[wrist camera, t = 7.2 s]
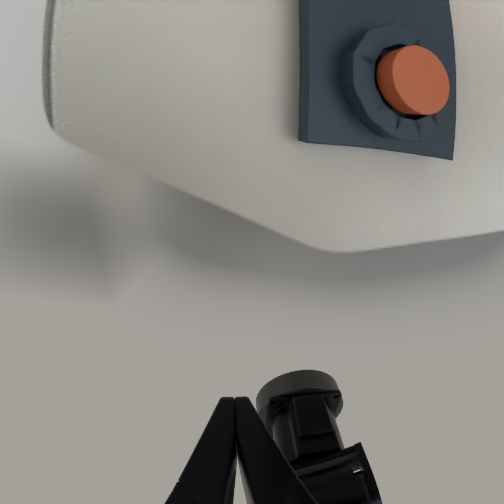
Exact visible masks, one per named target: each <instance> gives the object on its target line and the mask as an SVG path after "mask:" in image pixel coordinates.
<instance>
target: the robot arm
mask: <svg viewBox="0 0 504 504" xmlns="http://www.w3.org/2000/svg"><path fill="white" fill-rule="evenodd" d="M341 396H342V395H341V392H340V390H330V391H323V392H314V393H305V394H294V395H282V396H272V397H270V398H269V399H268V405H267V417H266V426H265V424H264V423H263V421H262V420H261V418H260V416H259V415H258V413H257V411H256V410H255V408H254V406H253V405H252V403H251V401H250V399H249V398H248V397H235V402H234V398H233V397H222V398H220V400H219V402H218V404H217V406H216V408H215V410H214V412H213V414H212V416H211V418H210V420H209V422H208V424H207V426H206V428H205V430H204V432H203V434H202V436H201V438H200V440H199V441H198V444H197V446H196V447H195V449H194V451H193V453H192V455H191V457H190V459H189V461H188V463H187V465H186V466H185V468H184V470H183V472H182V474H181V476H180V478H179V482H177V483H176V485H175V487H174V489H173V491H172V492H171V494H170V495H169V497H168V499H167V501H166V502H165V504H233V498H234V488H235V477H236V476H235V475H236V466H237V456H238V463H239V468H240V473H241V477H242V483H243V487H244V492H245V496H246V501H247V504H382V501H381V497H380V494H379V490H378V487H377V484H376V481H375V478H374V475H373V473H372V470H371V468H370V465H369V462H368V460H367V457H366V455H365V452H364V450H363V447H362V444H361V442H359V443H357V444H354V446H351V447H348V448H345V449H344V446H343V442H342V439H341V436H340V433H339V429H338V426H337V423H336V420H335V417H334V416H335V414H336V411H337V408H338V405H339V402H340V399H341ZM273 438H274V439H273ZM236 442H237V443H236ZM359 469H360V470H361V471H358V472H356V473H353V471H356V470H359Z"/></svg>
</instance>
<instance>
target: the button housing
mask: <svg viewBox="0 0 504 504" xmlns="http://www.w3.org/2000/svg"><path fill="white" fill-rule="evenodd" d="M299 25H300V89H299V136H298V140H299V141H302V142H306V143H315V144H330V145H343V146H354V147H364V148H373V149H382V150H390V151H397V152H404V153H411V154H418V155H424V156H430V157H436V158H441V159H447V160H453V152H454V140H455V123H456V65H455V49H454V37H453V28H452V20H451V12H450V6H449V0H299ZM409 45H417V46H421V47H424V48H426V49H428V50H429V51H431V52H432V53H433V54H434V55H436V56H437V58H438V59H439V60H440V61H441V63H442V64H443V66H444V68H445V70H446V72H447V75H448V79H449V87H450V89H449V97H448V100H447V102H446V104H445V106H444V107H443V108H442V109H441V110H440V111H438V112H437V113H434V114H431V115H419V114H405V113H402V112H399V111H397V110H396V109H394V108H393V107H392V106H390V105H389V104H388V103H387V101H386V100H385V99H384V97H383V96H382V94H381V92H380V90H379V87H378V84H377V67H378V64H379V62H380V60H381V59H382V57H383V56H384V55H385V54H387V53H389V52H391V51H394V50H396V49H399V48H402V47H405V46H409Z"/></svg>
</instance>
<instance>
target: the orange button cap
mask: <svg viewBox="0 0 504 504" xmlns="http://www.w3.org/2000/svg"><path fill="white" fill-rule="evenodd" d="M377 84H378V87H379V90H380V92H381V94H382V96H383V97H384V99H385V100H386V101H387V103H388V104H389V105H390V106H392V107H393V108H394V109H396V110H397V111H399V112H402V113H405V114H419V115H431V114H434V113H437V112H438V111H440V110H441V109H442V108H443V107H444V106H445V104H446V102H447V100H448V97H449V89H450V87H449V79H448V75H447V72H446V70H445V68H444V66H443V64H442V63H441V61H440V60H439V59H438V58H437V56H436V55H434V54H433V53H432V52H431V51H429V50H428V49H426V48H424V47H421V46H417V45H409V46H405V47H402V48H399V49H396V50H394V51H391V52H389V53H387V54H385V55H384V56H383V57H382V59H381V60H380V62H379V64H378V67H377Z"/></svg>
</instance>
